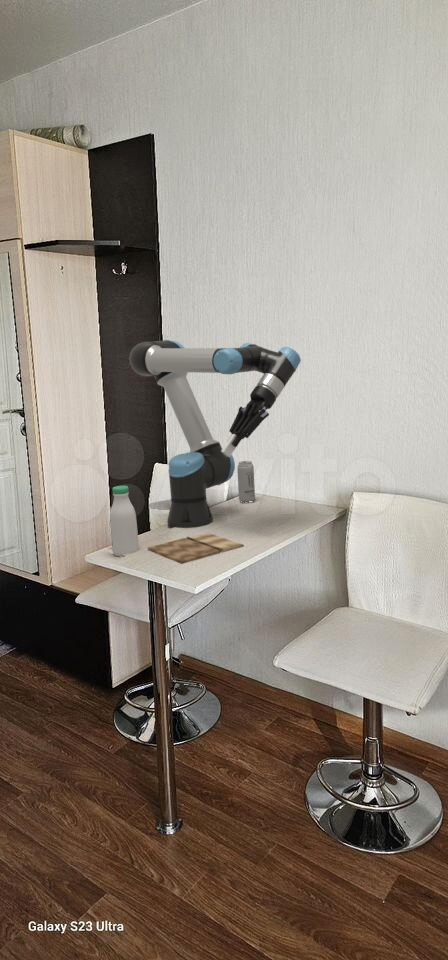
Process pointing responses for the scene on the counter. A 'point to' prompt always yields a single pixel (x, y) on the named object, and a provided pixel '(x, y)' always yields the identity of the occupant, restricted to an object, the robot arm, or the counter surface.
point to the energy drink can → (246, 481)
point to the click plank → (183, 550)
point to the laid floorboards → (216, 542)
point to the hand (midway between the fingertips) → (225, 454)
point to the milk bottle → (123, 523)
